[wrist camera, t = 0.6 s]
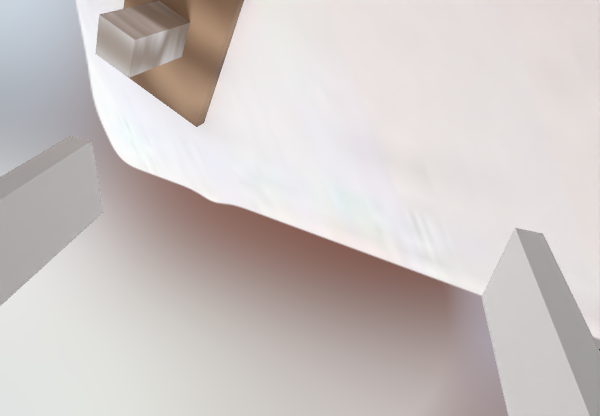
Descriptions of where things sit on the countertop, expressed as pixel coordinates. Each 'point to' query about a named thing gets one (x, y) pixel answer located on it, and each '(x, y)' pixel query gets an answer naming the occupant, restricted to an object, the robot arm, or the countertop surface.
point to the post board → (197, 57)
